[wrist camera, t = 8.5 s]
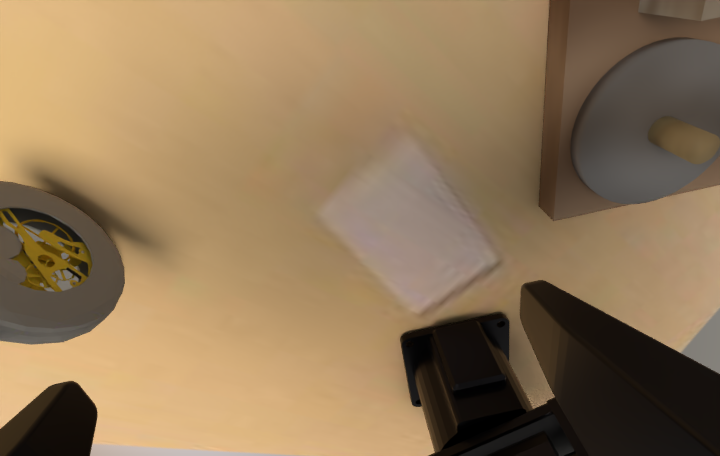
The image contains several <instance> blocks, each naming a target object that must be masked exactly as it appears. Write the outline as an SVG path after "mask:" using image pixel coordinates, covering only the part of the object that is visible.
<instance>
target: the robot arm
mask: <svg viewBox="0 0 720 456" xmlns="http://www.w3.org/2000/svg"><path fill="white" fill-rule="evenodd" d="M520 318H521V322H522V325H523V327H524V330H525V332H526V334H527V336H528V339H529V341H530V343H531V345H532V348H533V350H534V352H535V354H536V357H537V359H538V361H539V363H540V366H541V368H542V370H543V372H544V375H545V377H546V379H547V381H548V384H549V386H550V388H551V390H552V392H553V394H554V396H555V398H552V399H550V400H548V401H547V403H546V404H544V405H542V406H539V407H537V408H535V409H533V407H532V405H531V403H530V401H529V400H528V398H527V396H526V394H525V392H524V390H523V388H522V386H521V384H520V383H519V381H518V379H517V377H516V375H515V373H514V371H513V369H512V367H511V365H510V364H509V320H508V319H507V317H506V315H505V314H502V313H500V314H494V315H490V316H485V317H480V318H476V319H471V320H467V321H462V322H458V323H453V324H449V325H444V326H439V327H435V328H430V329H426V330H421V331H417V332H412V333H407V334H405V335H403V336H402V337H401V339H400V343H401V348H402V354H403V359H404V365H405V370H406V376H407V381H408V387H409V392H410V398H411V402H412V405H413V406H416V407H420V406H422V408H423V412H424V415H425V419H426V422H427V426H428V430H429V433H430V437H431V440H432V444H433V447H434V451H435V453H433V454H431V455H429V456H720V374H719V373H717V372H715V371H713V370H711V369H709V368H707V367H706V366H704V365H702V364H700V363H698V362H696V361H694V360H692V359H691V358H689V357H687V356H685V355H683V354H681V353H679V352H677V351H676V350H674V349H672V348H670V347H668V346H666V345H664V344H663V343H661V342H659V341H657V340H655V339H653V338H651V337H649V336H648V335H646V334H644V333H642V332H640V331H638V330H636V329H634V328H633V327H631V326H629V325H627V324H625V323H623V322H621V321H619V320H618V319H616V318H614V317H612V316H610V315H608V314H606V313H604V312H603V311H601V310H599V309H597V308H595V307H593V306H591V305H589V304H588V303H586V302H584V301H582V300H580V299H578V298H576V297H574V296H573V295H571V294H569V293H567V292H565V291H563V290H561V289H559V288H558V287H556V286H554V285H552V284H550V283H548V282H546V281H543V280H538V281H534V282H529V283H525V284H523V285H522V287H521V298H520ZM500 321H501V322H500ZM498 322H499V323H498ZM409 341H411V342H409ZM96 422H97V408H96V406H95V404H94V403H93V401H92V400H91V399H90V398H89V396H88V395H87V394H86V393H85V391H84V390H83V389H82V388H81V387H80V385H79V384H78V383H76V382H74V381H68V382H63V383H58V384H54V385H52V386H50V387H48V388H47V389H46V390H44V391H43V392H42V393H41V394H40V395H39V396H38V397H36V398H35V399H34V400H33V401H32V402H31V403H30V404H28V405H27V406H26V407H25V408H24V409H23V410H22V411H20V412H19V413H18V414H17V415H16V416H15V417H14V418H12V419H11V420H10V421H9V422H8V423H7V424H6V425H4V426H3V427H2V428H1V429H0V456H90V452H91V447H92V442H93V437H94V432H95V427H96Z"/></svg>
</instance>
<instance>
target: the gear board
mask: <svg viewBox="0 0 720 456" xmlns="http://www.w3.org/2000/svg"><path fill="white" fill-rule="evenodd" d="M717 185H720V0H550V8H549V27H548V46H547V64H546V83H545V102H544V120H543V139H542V158H541V177H540V195H539V207H540V208H541V209H542V210H543V211H544V212H545V213H546V214H547V215H548V216H549V217H550V218H551V219H552V220H553V221H556V220H560V219H565V218H569V217H574V216H579V215H583V214H588V213H592V212H597V211H602V210H606V209H611V208H615V207H620V206H625V205H629V204H640V203H646V202H650V201H654V200H657V199H660V198H663V197H666V196H671V195H675V194H680V193H684V192H689V191H694V190H698V189H703V188H707V187H712V186H717Z"/></svg>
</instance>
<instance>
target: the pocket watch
mask: <svg viewBox="0 0 720 456" xmlns="http://www.w3.org/2000/svg"><path fill="white" fill-rule="evenodd" d="M124 284H125V279H124V266H123V263H122V260H121V256H120V254H119V252H118V250H117V248H116V246H115V245H114V243H113V242H112V241H111V239H110V238H109V237H108V236H107V234H106V233H105V232H104V230H103V229H102V228H101V227H100V226H99V225H98V224H97V223H96V222H95V221H93V220H92V219H91V218H90V217H89V216H88V215H87V214H85V213H84V212H82V211H81V210H79V209H78V208H76V207H75V206H74V205H72V204H70V203H68V202H66V201H64V200H63V199H61V198H59V197H57V196H54V195H52V194H49V193H47V192H44V191H42V190H40V189H37V188H33V187H29V186H25V185H21V184H17V183H13V182H4V181H0V341H7V342H15V343H23V344H44V343H58V342H64V341H67V340H69V339H72V338H75V337H77V336H80V335H82V334H85V333H88V332H90V331H91V330H92V329H94V328H95V327H96V326H97V325H98V324H99V323H101V322H102V321H103V320H104V319H105V318H106V317H107V316H108V315H109V314H110V313H111V312H112V311H113V310H114V308H115V306H116V304H117V302H118V300H119V297H120V296H121V294H122V291H123V287H124Z"/></svg>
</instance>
